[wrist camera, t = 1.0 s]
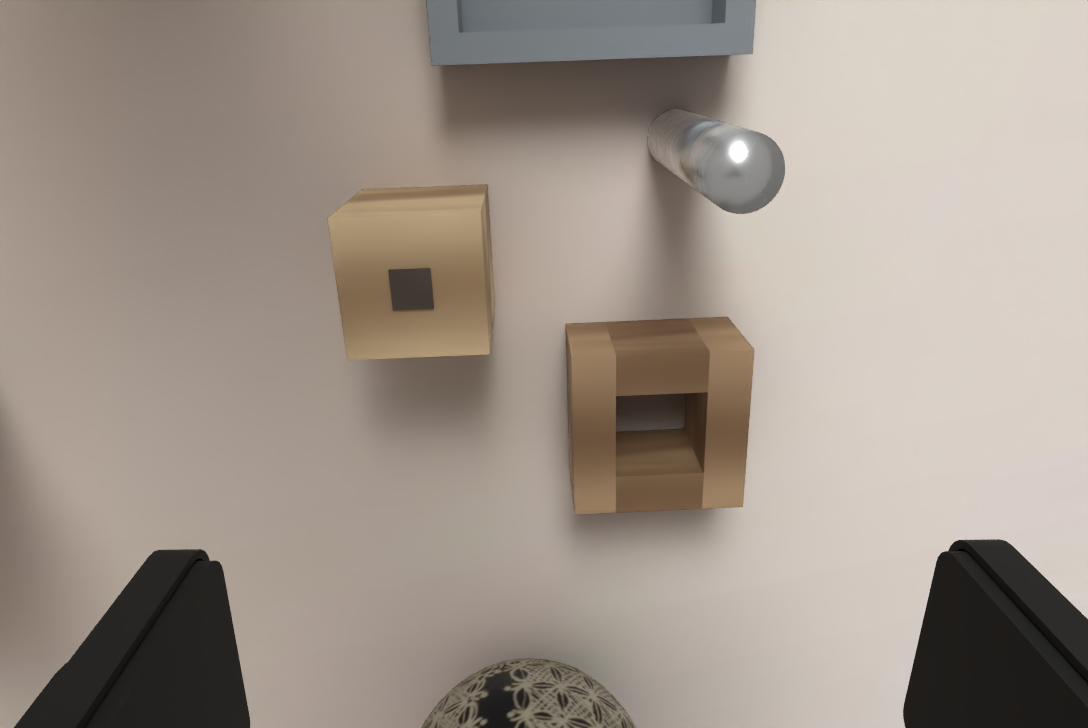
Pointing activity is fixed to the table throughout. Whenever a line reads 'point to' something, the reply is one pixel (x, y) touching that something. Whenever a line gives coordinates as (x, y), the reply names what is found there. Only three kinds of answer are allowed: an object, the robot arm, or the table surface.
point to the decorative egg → (529, 699)
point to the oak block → (414, 272)
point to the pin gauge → (718, 159)
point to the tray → (586, 29)
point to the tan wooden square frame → (658, 455)
